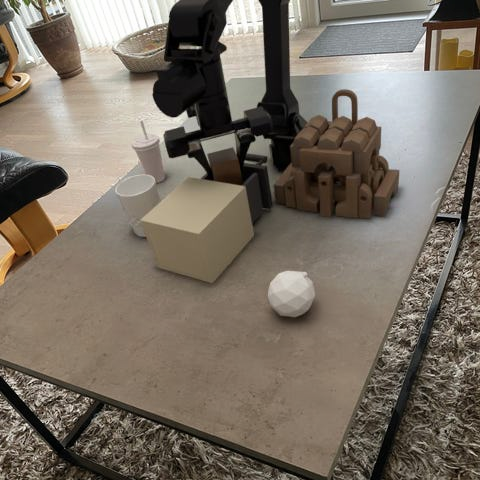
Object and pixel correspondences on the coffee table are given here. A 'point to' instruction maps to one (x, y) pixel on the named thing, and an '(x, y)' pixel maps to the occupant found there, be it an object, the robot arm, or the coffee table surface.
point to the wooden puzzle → (338, 167)
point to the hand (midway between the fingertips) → (226, 175)
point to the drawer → (255, 184)
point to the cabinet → (199, 228)
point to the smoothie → (149, 154)
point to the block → (225, 166)
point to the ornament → (291, 293)
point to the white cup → (138, 199)
